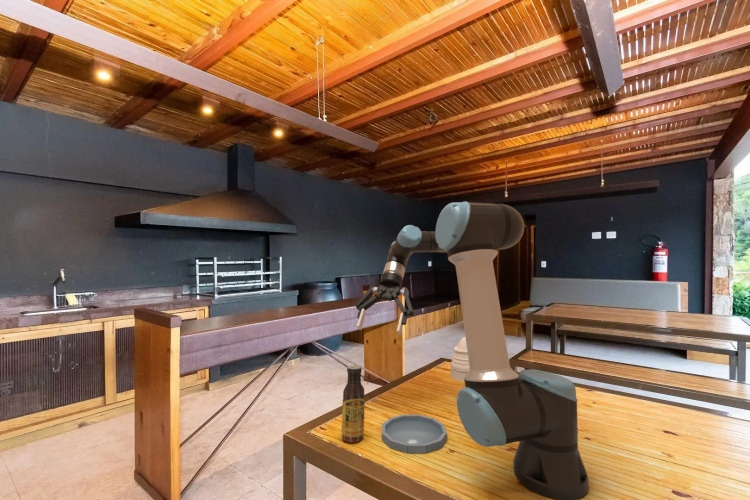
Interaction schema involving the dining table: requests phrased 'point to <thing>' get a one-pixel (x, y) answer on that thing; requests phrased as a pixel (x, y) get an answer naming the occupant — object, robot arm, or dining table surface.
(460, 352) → the honey pot
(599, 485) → the dining table surface
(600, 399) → the dining table surface
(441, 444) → the serving plate
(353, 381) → the sauce bottle
